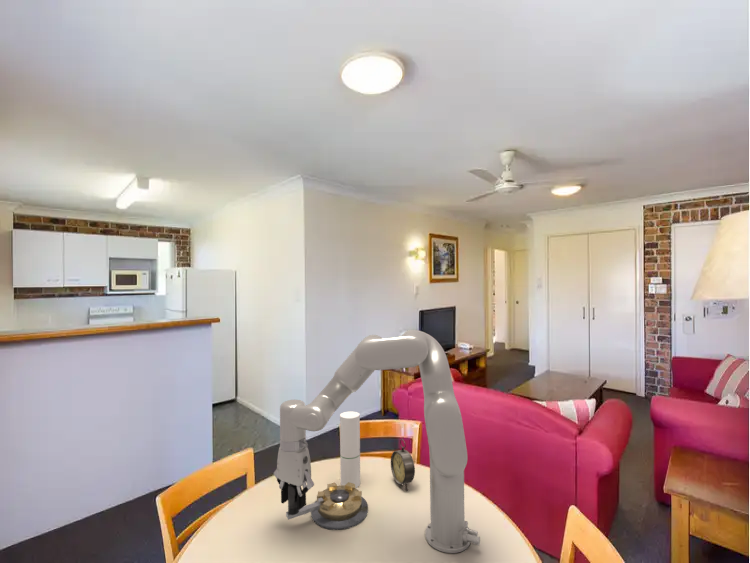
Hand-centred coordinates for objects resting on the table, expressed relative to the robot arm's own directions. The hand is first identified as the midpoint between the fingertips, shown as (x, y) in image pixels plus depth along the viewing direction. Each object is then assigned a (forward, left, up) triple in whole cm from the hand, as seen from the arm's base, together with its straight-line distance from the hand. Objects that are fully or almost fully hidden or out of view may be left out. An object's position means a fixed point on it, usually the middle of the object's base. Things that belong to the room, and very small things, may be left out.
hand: (293, 503), depth 108 cm
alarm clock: (-19, -37, -7) cm, 42 cm away
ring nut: (-5, -9, -5) cm, 11 cm away
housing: (-8, -13, -7) cm, 17 cm away
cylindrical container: (-2, -28, -7) cm, 29 cm away
